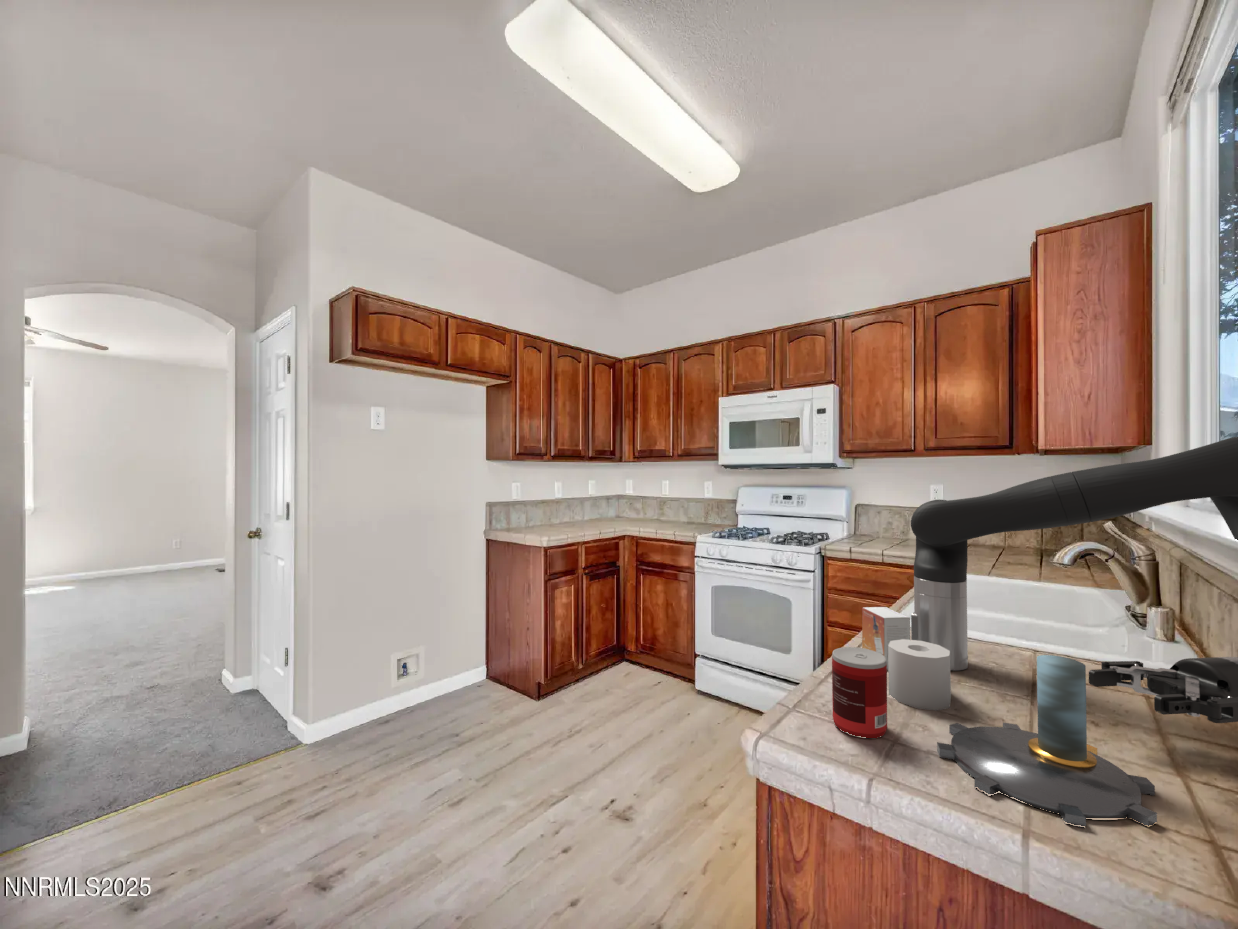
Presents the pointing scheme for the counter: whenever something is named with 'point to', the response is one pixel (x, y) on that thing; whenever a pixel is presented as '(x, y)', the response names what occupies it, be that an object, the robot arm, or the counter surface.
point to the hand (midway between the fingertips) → (1122, 691)
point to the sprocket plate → (1047, 775)
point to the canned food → (859, 691)
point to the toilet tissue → (919, 674)
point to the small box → (883, 628)
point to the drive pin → (1062, 707)
